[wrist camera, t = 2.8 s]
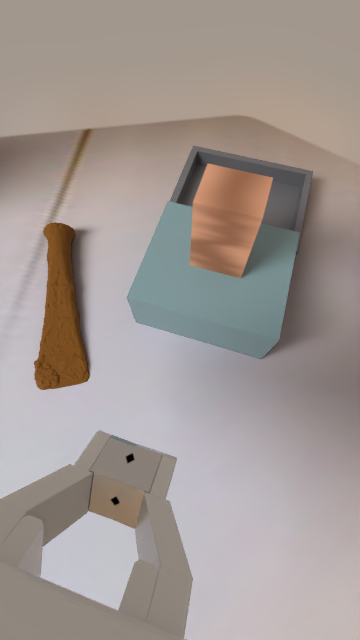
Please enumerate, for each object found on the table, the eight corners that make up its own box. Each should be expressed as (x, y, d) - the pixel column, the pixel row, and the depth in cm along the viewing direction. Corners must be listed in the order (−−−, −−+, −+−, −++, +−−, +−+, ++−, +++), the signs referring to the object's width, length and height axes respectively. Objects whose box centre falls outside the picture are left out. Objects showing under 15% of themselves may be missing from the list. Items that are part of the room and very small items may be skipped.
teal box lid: (135, 322, 32) (126, 297, 27) (169, 237, 37) (167, 201, 31) (261, 358, 31) (279, 340, 25) (281, 265, 35) (299, 232, 30)
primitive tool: (91, 382, 30) (79, 375, 27) (37, 393, 30) (19, 387, 27) (79, 234, 38) (69, 215, 34) (35, 241, 37) (21, 222, 34)
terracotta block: (189, 265, 28) (192, 201, 21) (201, 232, 30) (207, 163, 22) (240, 278, 28) (262, 218, 20) (249, 245, 29) (273, 177, 22)
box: (163, 232, 37) (162, 218, 35) (192, 162, 42) (193, 145, 40) (290, 264, 35) (297, 251, 33) (305, 187, 40) (312, 171, 38)
